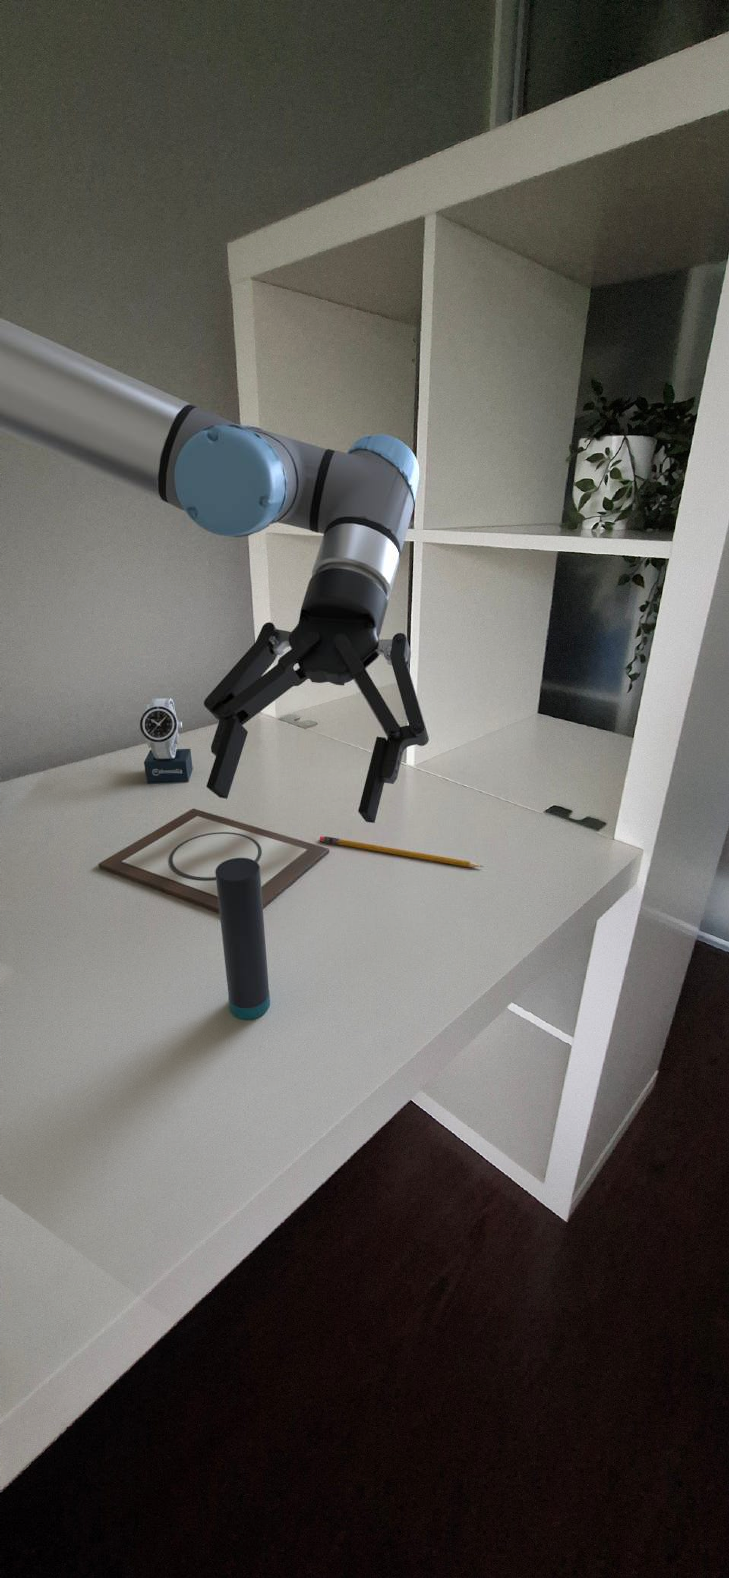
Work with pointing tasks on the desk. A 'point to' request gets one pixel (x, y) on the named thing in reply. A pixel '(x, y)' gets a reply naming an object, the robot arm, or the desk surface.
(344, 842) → the pencil
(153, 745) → the watch
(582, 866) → the desk surface
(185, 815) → the sketch board
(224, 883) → the marker
